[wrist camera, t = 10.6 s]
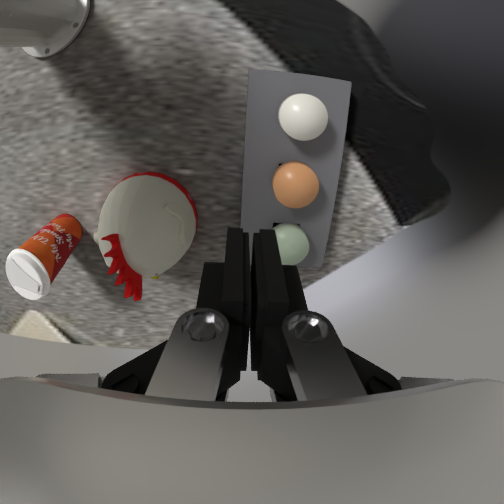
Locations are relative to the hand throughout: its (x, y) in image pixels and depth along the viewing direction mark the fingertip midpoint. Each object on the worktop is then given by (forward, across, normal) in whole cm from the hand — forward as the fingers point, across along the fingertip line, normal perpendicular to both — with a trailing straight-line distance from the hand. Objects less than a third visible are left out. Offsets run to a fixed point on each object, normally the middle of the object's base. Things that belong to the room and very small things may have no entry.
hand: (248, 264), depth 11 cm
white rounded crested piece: (+29, +13, +12) cm, 34 cm away
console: (+29, -6, +4) cm, 30 cm away
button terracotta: (+28, -6, +5) cm, 29 cm away
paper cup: (+29, +28, +14) cm, 43 cm away
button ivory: (+28, -6, -4) cm, 29 cm away
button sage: (+28, -6, +13) cm, 31 cm away
